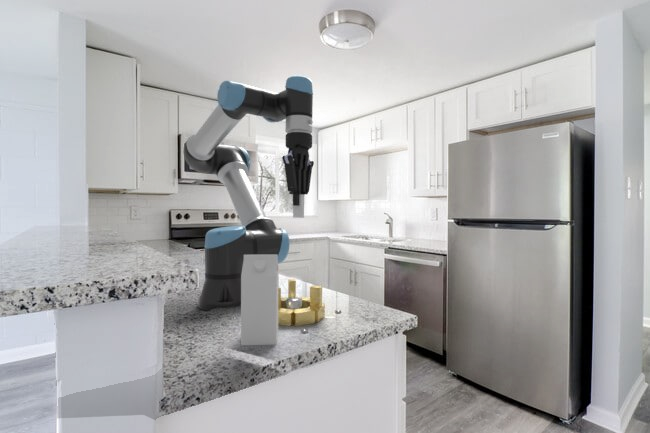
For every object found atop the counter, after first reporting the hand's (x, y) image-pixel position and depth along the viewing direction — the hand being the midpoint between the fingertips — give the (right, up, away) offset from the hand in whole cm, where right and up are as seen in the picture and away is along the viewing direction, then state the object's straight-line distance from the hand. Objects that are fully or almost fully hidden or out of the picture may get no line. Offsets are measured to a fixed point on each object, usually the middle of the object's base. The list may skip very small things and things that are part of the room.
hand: (298, 217), depth 97 cm
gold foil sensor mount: (0, -25, -8) cm, 27 cm away
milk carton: (-6, -27, -24) cm, 37 cm away
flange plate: (-1, -27, -8) cm, 28 cm away
